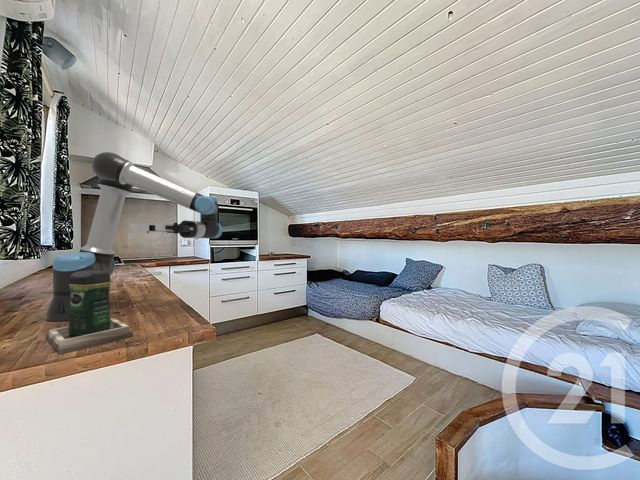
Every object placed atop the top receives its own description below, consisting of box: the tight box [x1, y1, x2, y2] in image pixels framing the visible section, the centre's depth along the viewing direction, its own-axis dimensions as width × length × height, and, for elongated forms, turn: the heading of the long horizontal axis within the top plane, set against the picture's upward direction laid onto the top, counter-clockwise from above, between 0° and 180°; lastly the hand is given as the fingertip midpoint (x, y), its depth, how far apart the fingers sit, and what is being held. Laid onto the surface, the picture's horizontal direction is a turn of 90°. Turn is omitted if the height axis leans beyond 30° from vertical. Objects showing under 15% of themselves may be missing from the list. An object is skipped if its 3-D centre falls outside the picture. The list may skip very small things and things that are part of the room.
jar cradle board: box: [45, 317, 134, 355], centre depth 80 cm, size 18×16×3 cm
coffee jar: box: [68, 270, 112, 337], centre depth 80 cm, size 10×8×19 cm
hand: (143, 227), depth 100 cm, fingers open, 13 cm apart
